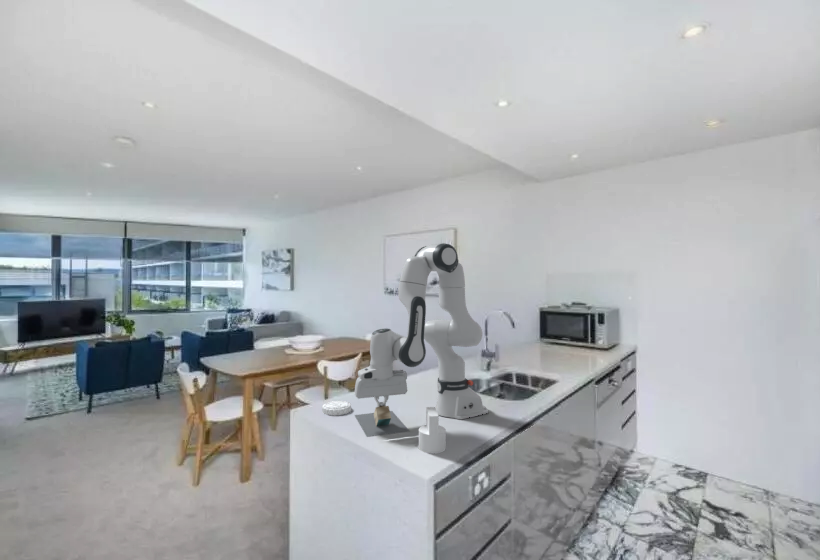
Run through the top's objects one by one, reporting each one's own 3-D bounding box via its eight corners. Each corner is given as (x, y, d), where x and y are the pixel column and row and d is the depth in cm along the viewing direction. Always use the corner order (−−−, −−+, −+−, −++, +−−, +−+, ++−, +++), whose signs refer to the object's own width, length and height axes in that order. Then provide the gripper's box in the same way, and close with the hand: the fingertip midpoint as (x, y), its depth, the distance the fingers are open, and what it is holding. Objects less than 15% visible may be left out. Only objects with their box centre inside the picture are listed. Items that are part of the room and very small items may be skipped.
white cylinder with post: (417, 442, 132) (417, 407, 132) (443, 441, 132) (443, 406, 132) (420, 453, 123) (420, 416, 123) (447, 453, 123) (447, 416, 123)
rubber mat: (391, 412, 162) (391, 410, 162) (409, 432, 140) (409, 431, 140) (354, 416, 156) (354, 415, 156) (366, 438, 135) (366, 436, 135)
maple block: (388, 405, 146) (391, 418, 143) (386, 412, 150) (388, 424, 146) (375, 407, 145) (378, 419, 141) (373, 414, 148) (376, 426, 144)
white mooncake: (356, 411, 164) (356, 402, 164) (337, 419, 154) (337, 410, 154) (335, 406, 170) (335, 398, 170) (316, 414, 160) (316, 405, 160)
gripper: (404, 367, 153) (404, 402, 153) (353, 371, 147) (353, 407, 147) (409, 371, 147) (409, 407, 147) (357, 375, 141) (356, 412, 141)
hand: (381, 407), depth 147 cm, fingers closed, pressing on maple block
